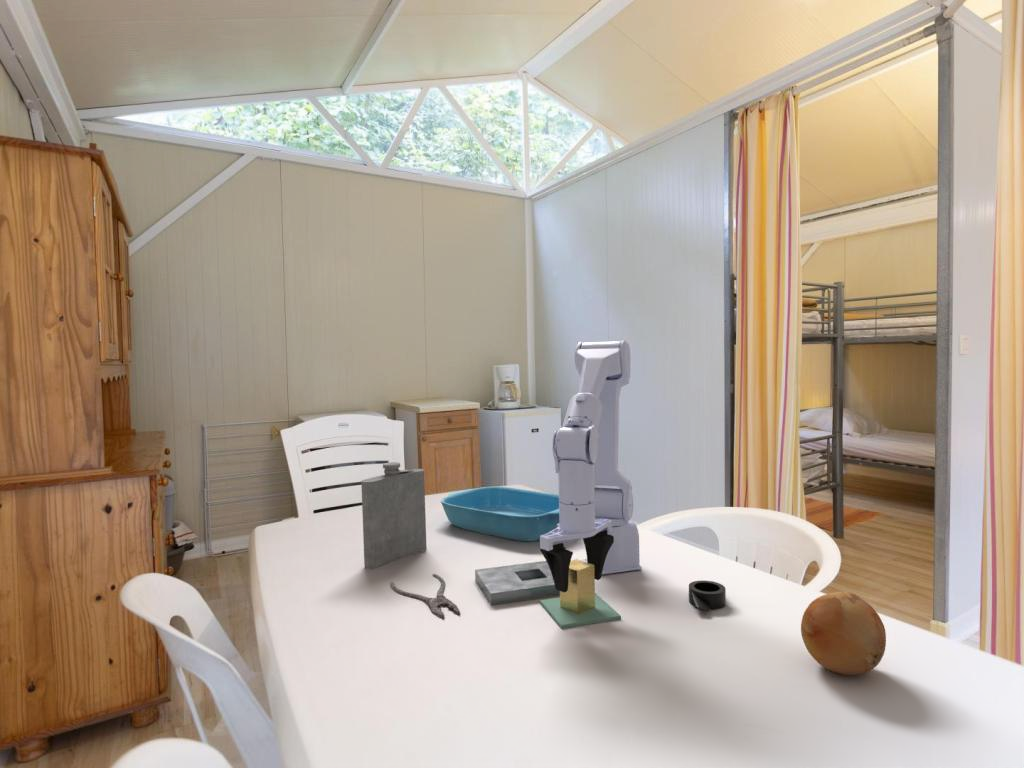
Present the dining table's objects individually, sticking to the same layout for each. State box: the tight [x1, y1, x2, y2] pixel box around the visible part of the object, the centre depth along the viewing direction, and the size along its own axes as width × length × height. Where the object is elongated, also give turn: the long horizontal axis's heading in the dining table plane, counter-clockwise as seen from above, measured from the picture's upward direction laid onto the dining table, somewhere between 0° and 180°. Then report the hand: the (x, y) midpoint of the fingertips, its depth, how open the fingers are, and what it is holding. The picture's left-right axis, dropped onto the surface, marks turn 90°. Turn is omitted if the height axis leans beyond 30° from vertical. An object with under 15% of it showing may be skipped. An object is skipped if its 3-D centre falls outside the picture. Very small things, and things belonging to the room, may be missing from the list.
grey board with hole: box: [474, 560, 560, 606], centre depth 109 cm, size 18×12×2 cm, turn 106°
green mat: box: [539, 592, 622, 629], centre depth 97 cm, size 10×10×1 cm
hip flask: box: [360, 461, 427, 570], centre depth 126 cm, size 16×4×20 cm, turn 141°
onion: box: [800, 591, 887, 676], centre depth 77 cm, size 10×10×10 cm
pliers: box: [390, 573, 461, 620], centre depth 106 cm, size 10×1×20 cm
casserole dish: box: [440, 486, 559, 542], centre depth 148 cm, size 37×22×7 cm, turn 50°
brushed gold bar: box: [559, 558, 596, 614], centre depth 97 cm, size 4×4×7 cm
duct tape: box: [688, 580, 727, 612], centre depth 99 cm, size 8×10×3 cm
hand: (578, 584), depth 97 cm, fingers open, 7 cm apart
